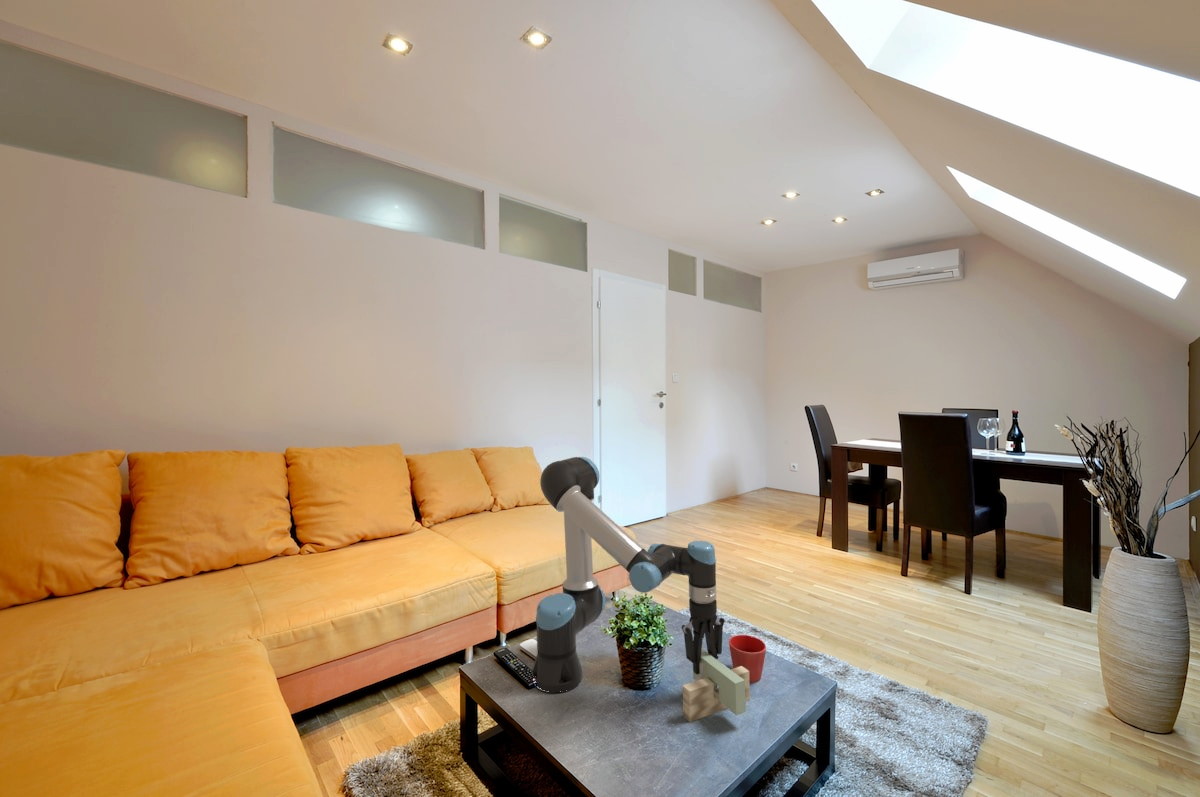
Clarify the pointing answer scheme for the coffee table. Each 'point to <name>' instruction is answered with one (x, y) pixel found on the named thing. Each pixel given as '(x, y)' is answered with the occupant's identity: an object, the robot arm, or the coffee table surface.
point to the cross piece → (725, 683)
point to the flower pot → (748, 655)
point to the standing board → (707, 696)
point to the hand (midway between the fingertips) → (704, 682)
